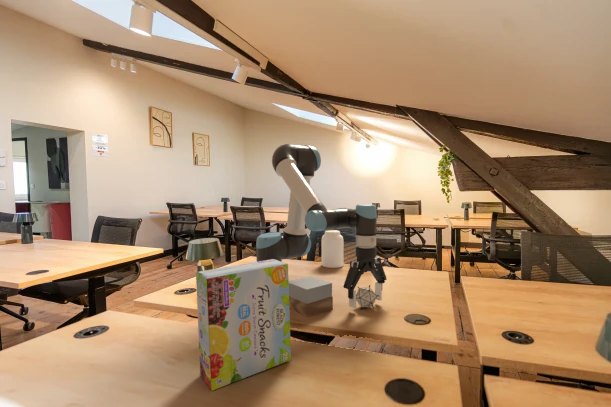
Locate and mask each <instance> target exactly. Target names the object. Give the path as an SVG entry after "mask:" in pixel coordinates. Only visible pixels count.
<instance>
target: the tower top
mask: <svg viewBox="0 0 611 407" xmlns="http://www.w3.org/2000/svg"><path fill="white" fill-rule="evenodd" d="M289 296H290V297H292V298H294V299H297V300H299V301H301V302H304V303H306V304H308V303H311V302H315V301H318V300H322V299H325V298H328V297H333V283H332V282H331V281H327V280H324V279H320V278H318V277H314V276H305V277H302V278H299V279H294V280H293V279H292V280H289Z"/></svg>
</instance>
